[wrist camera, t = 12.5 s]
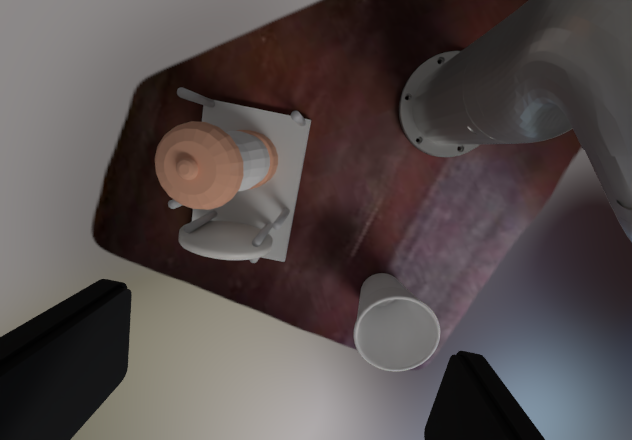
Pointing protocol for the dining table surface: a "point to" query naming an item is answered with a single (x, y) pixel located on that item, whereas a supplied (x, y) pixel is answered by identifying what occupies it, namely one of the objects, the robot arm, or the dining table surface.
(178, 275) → the dining table surface
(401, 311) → the cup
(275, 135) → the dish rack
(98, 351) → the robot arm
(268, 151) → the salt shaker
